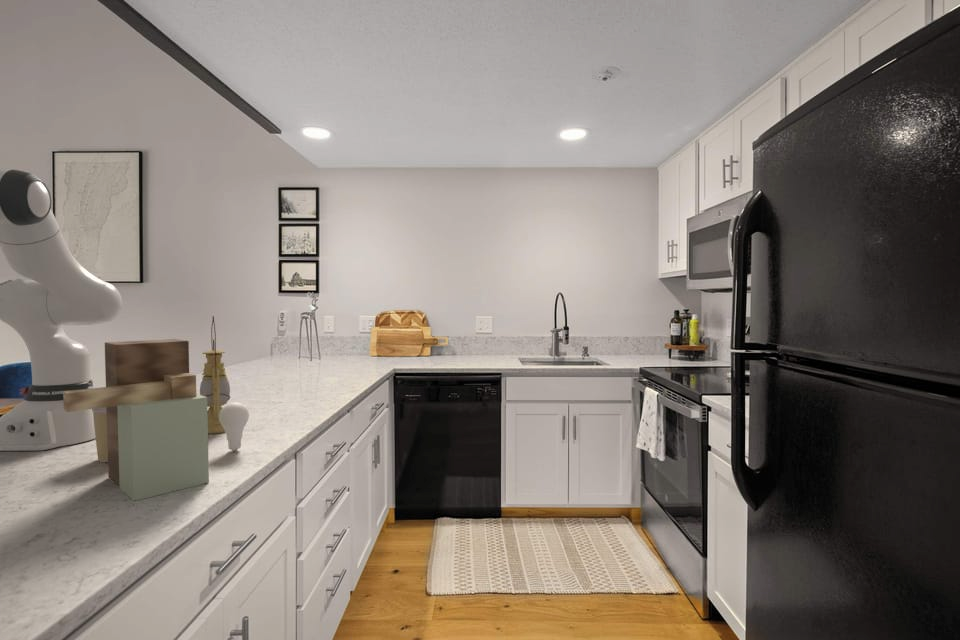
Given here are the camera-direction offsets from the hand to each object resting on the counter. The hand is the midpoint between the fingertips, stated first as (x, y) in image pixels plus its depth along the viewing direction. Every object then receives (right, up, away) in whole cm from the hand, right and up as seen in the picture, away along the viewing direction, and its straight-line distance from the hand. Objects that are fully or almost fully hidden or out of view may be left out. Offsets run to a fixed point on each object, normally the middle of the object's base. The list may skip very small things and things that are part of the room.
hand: (19, 283), depth 81 cm
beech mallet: (+11, -20, +10) cm, 25 cm away
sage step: (+14, -36, +14) cm, 41 cm away
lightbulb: (+16, -35, +36) cm, 53 cm away
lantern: (+2, -35, +56) cm, 66 cm away
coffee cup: (-6, -36, +31) cm, 48 cm away
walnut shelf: (+8, -36, +20) cm, 42 cm away
